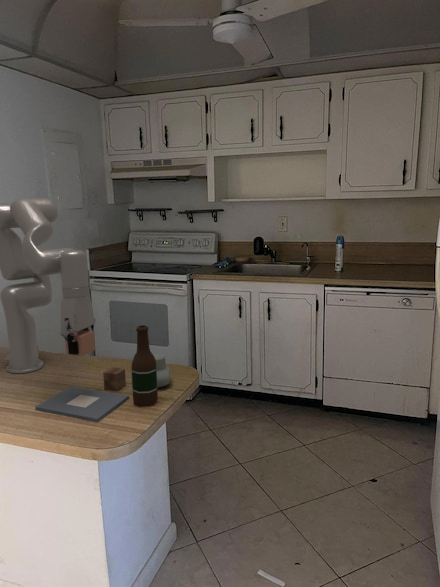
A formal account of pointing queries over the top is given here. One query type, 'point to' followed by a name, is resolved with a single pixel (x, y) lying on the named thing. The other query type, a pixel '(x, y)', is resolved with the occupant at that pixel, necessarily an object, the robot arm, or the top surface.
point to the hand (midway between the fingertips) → (80, 350)
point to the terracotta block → (83, 342)
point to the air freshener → (162, 370)
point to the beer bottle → (144, 371)
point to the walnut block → (114, 379)
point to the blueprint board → (82, 403)
